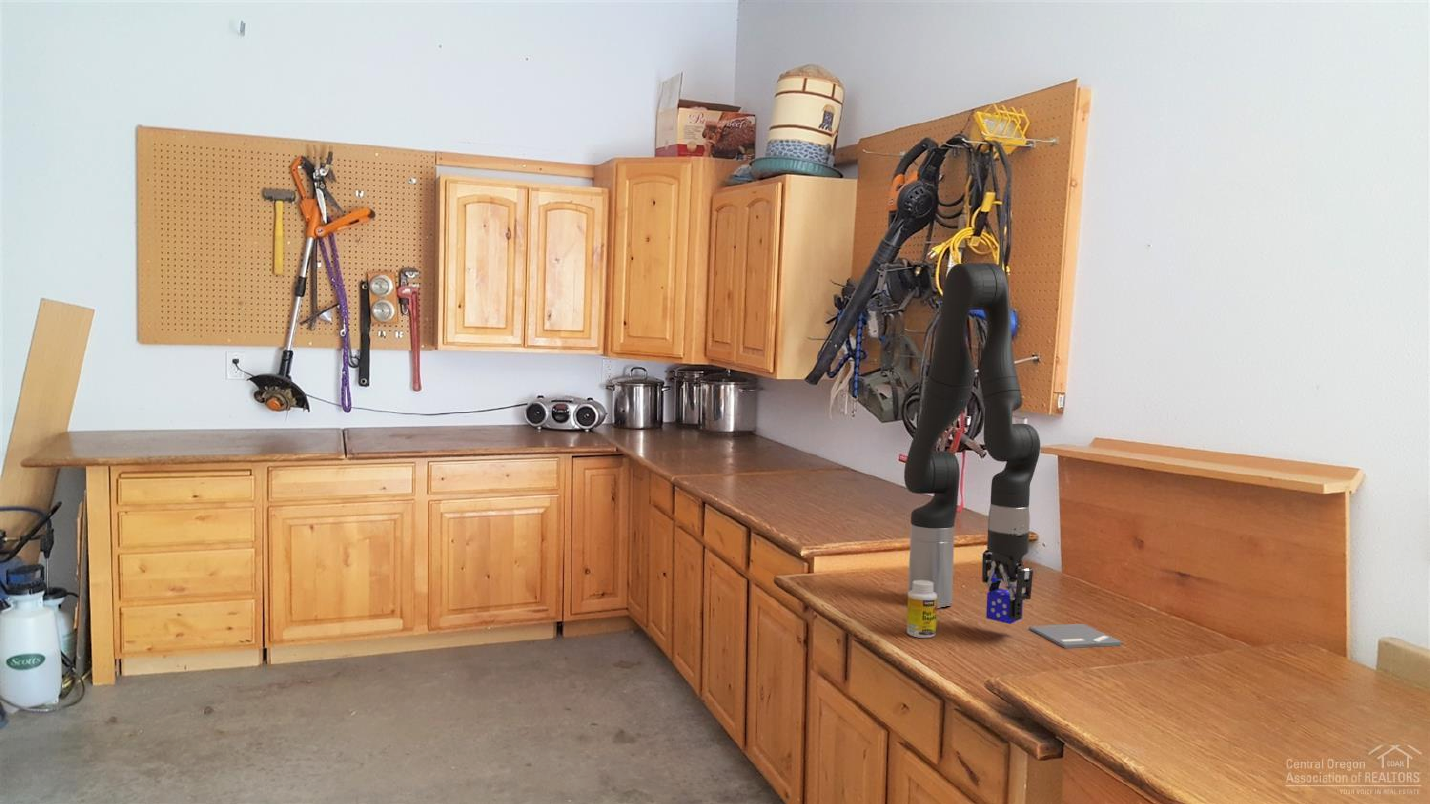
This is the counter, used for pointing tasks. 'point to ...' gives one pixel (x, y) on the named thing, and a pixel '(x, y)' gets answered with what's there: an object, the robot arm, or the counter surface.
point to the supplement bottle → (922, 610)
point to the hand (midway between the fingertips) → (1004, 613)
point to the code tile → (1075, 635)
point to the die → (999, 606)
